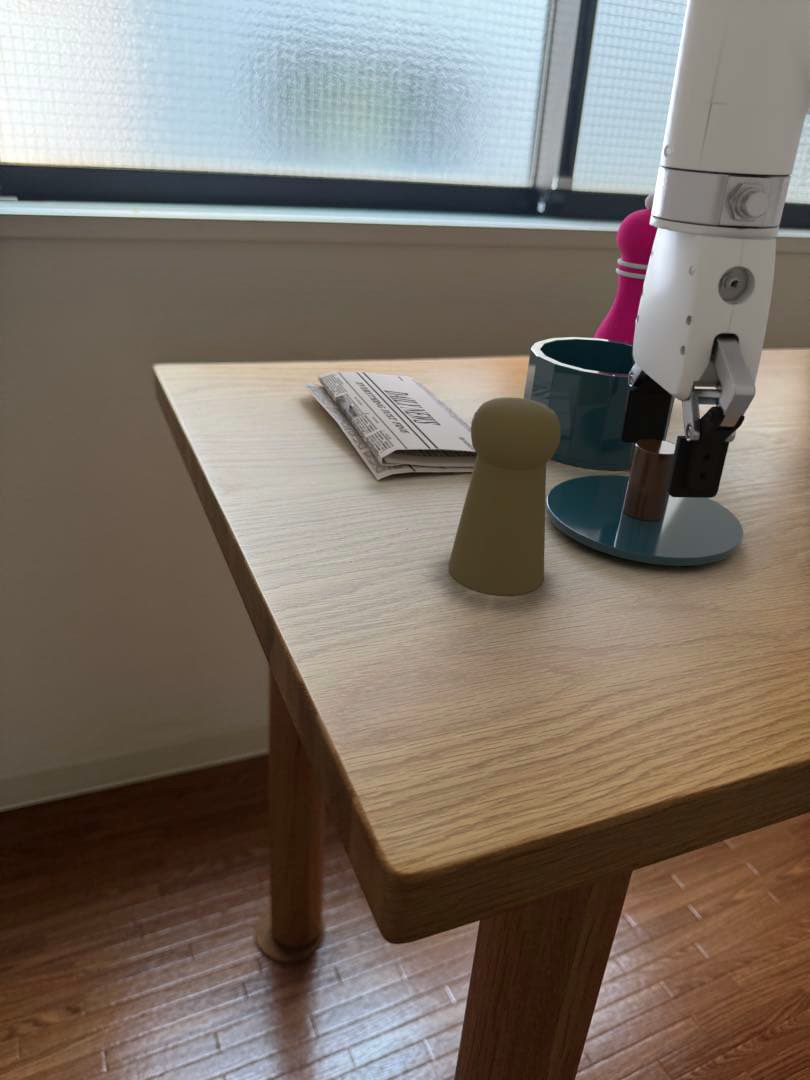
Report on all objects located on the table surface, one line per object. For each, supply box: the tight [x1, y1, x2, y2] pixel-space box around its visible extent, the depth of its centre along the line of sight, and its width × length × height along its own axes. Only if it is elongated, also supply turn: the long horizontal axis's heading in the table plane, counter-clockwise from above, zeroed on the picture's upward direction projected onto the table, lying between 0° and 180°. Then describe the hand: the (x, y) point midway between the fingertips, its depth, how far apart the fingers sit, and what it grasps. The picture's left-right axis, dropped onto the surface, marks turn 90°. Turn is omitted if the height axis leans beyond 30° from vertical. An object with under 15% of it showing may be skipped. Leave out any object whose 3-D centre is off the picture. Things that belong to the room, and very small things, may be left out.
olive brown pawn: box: [448, 396, 561, 596], centre depth 51 cm, size 6×6×11 cm
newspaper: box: [301, 371, 477, 481], centre depth 76 cm, size 23×12×2 cm, turn 18°
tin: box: [523, 336, 676, 471], centre depth 75 cm, size 13×13×8 cm
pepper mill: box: [593, 192, 658, 344], centre depth 88 cm, size 7×7×20 cm
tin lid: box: [545, 439, 744, 567], centre depth 60 cm, size 14×14×6 cm
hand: (664, 466), depth 59 cm, fingers open, 9 cm apart
